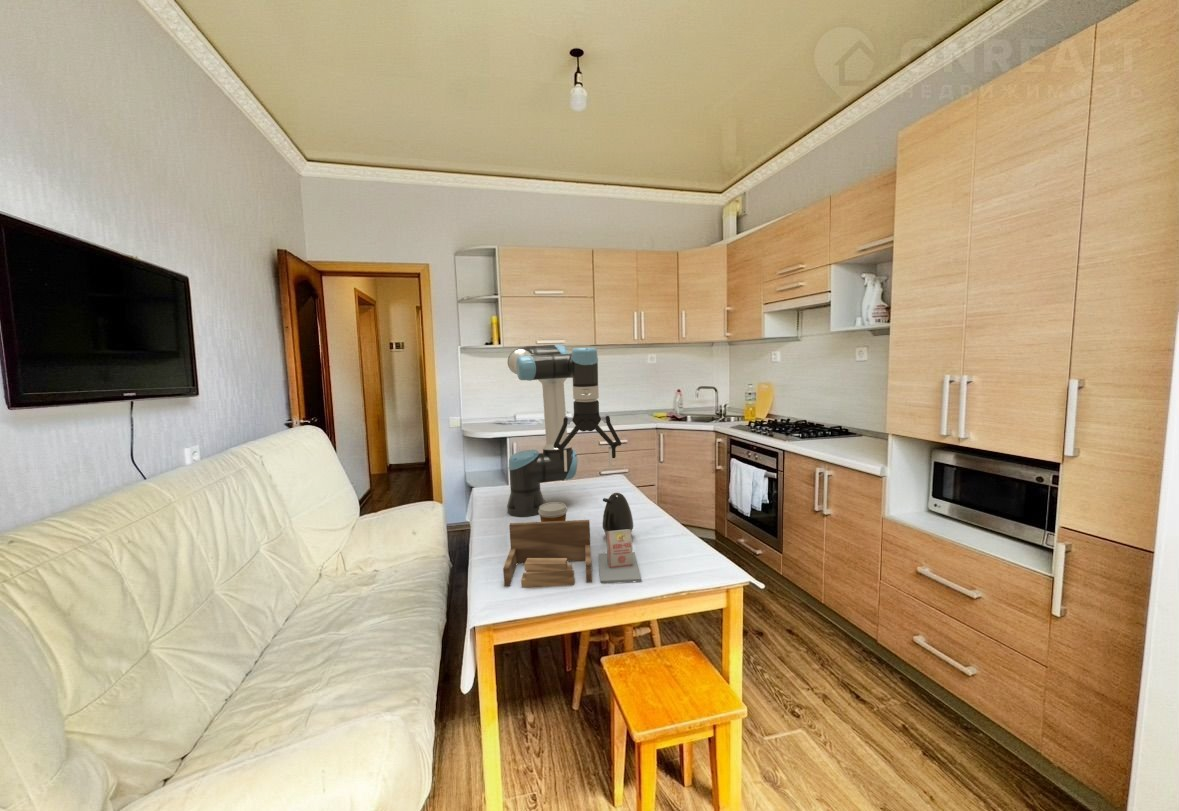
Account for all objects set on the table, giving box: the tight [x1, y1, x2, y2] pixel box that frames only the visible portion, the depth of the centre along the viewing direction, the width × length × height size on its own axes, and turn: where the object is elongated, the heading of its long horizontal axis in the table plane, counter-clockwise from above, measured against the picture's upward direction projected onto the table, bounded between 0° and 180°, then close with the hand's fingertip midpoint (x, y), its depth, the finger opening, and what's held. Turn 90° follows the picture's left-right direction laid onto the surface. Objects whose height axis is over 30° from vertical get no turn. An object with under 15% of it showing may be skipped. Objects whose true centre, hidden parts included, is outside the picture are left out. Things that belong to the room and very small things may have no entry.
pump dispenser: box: [602, 492, 634, 536], centre depth 147 cm, size 10×10×15 cm
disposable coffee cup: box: [538, 501, 568, 522], centre depth 146 cm, size 10×10×12 cm
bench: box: [502, 519, 593, 587], centre depth 126 cm, size 14×24×12 cm, turn 91°
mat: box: [597, 551, 643, 584], centre depth 127 cm, size 16×11×1 cm
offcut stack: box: [520, 558, 575, 588], centre depth 120 cm, size 5×14×6 cm, turn 91°
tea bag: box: [606, 529, 634, 568], centre depth 127 cm, size 4×7×10 cm, turn 98°
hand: (588, 469), depth 135 cm, fingers open, 13 cm apart
